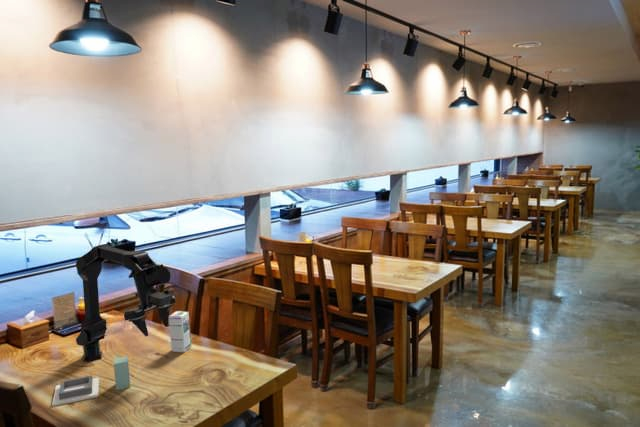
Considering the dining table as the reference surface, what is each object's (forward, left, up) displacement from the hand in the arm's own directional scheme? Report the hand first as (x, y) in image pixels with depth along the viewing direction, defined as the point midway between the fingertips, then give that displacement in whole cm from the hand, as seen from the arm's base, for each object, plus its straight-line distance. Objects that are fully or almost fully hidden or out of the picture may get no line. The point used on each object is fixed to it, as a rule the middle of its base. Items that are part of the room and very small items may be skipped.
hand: (157, 331), depth 171 cm
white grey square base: (+2, -26, -15) cm, 31 cm away
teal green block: (+4, -12, -15) cm, 20 cm away
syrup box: (-18, +10, -16) cm, 26 cm away
